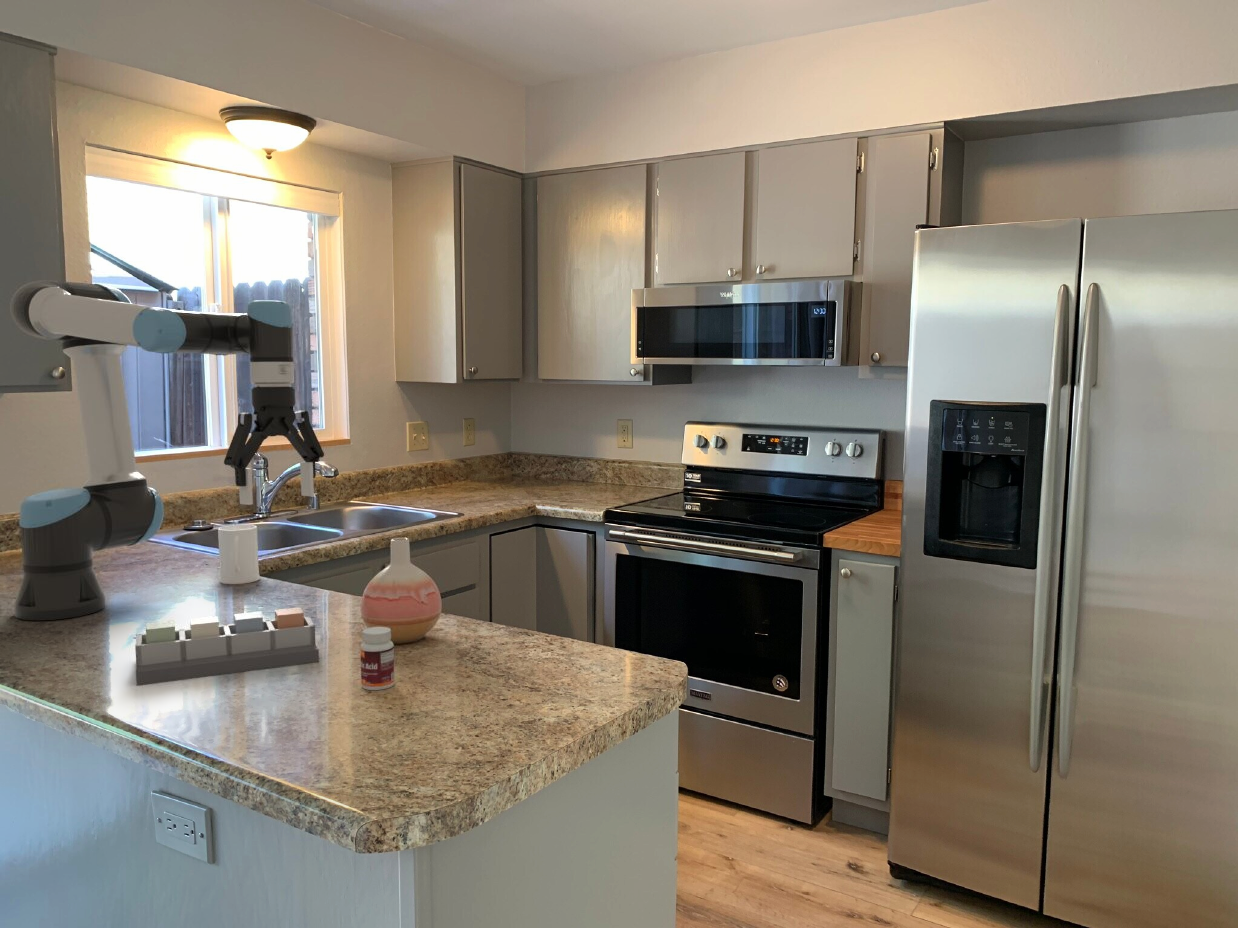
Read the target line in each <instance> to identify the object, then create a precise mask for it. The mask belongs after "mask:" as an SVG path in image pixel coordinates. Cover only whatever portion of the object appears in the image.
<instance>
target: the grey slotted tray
mask: <svg viewBox="0 0 1238 928" xmlns="http://www.w3.org/2000/svg"><path fill="white" fill-rule="evenodd" d="M175 639H176V641H168V642H160V643H151V644H147V641H146V633H137V634H136V635H135V645H134V646H135V663H136V664H135V679H136V680H135V682H136V683H135V684H136V686H142V685H149V684H158V683H166V682H173V681H180V680H186V679H187V680H188V679H196V678H197V679H198V678H202V677H211V676H218V675H219V676H220V675H226V674H233V673H243V672H249V671H257V670H265V669H271V668H272V669H273V668H279V667H280V668H281V667H287V666H295V665H303V664H312V663H319V662H320V656H319V655H320V654H319V653H320V650H319V647H318V646H317V644H316V627H315V624H314V622H313V621H312V619H311V618H310V616H309V615H304V626H301V627H292V628H283V629H276V628H275V618H274V619H268V620H267V619H266V620H263V631H257V632H248V633H239V634H235V626H234V623H228V624H219V636H213V637H204V638H195V639H191V629H190V628H183V629H175Z"/></svg>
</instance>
